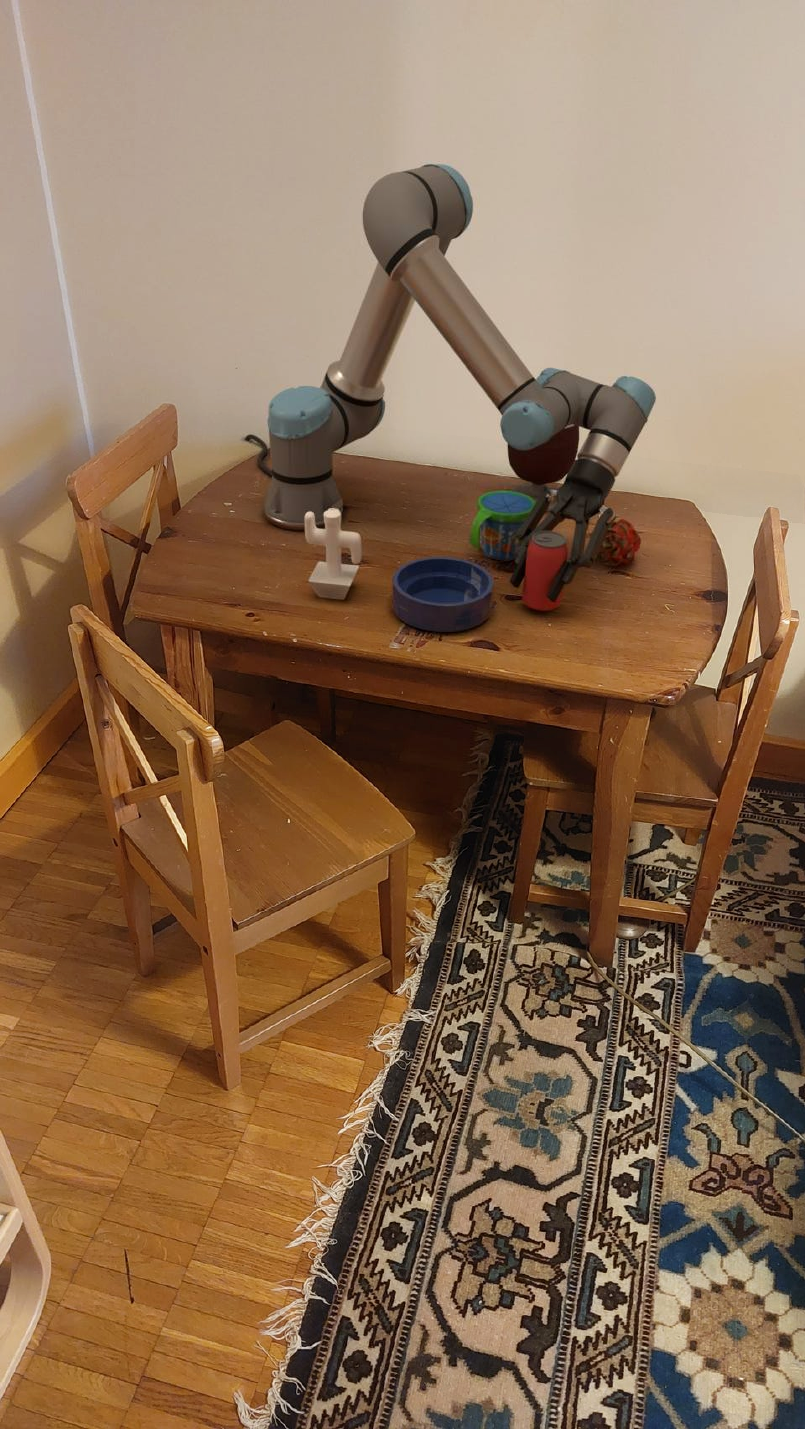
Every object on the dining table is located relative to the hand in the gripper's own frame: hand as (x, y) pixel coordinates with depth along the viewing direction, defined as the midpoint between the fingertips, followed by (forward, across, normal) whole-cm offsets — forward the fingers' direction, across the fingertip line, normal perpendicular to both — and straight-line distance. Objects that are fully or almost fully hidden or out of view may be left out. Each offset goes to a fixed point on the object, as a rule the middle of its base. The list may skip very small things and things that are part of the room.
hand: (532, 591), depth 166 cm
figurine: (+14, +30, +7) cm, 34 cm away
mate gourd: (-25, +24, -32) cm, 48 cm away
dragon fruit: (-16, -1, -22) cm, 27 cm away
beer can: (0, 0, -5) cm, 5 cm away
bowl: (+9, +12, +2) cm, 15 cm away
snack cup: (-8, +16, -15) cm, 23 cm away
